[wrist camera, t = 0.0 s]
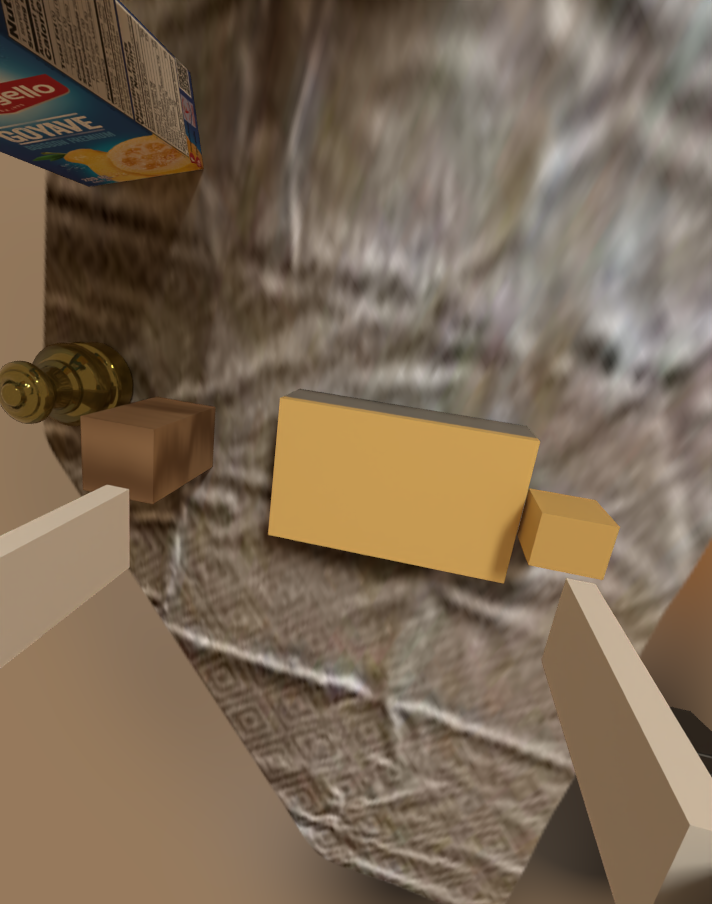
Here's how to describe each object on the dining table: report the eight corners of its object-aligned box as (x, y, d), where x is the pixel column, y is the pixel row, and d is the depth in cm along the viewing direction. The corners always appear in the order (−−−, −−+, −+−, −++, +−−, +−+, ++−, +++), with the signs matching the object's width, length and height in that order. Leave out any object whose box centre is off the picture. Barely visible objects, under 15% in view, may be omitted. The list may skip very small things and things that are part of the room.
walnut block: (156, 396, 45) (80, 416, 35) (215, 406, 44) (153, 429, 34) (156, 456, 46) (82, 489, 37) (212, 466, 46) (152, 504, 36)
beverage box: (205, 169, 38) (-74, -16, 18) (88, 186, 40) (-286, 40, 20) (191, 72, 37) (-136, -261, 16) (70, 96, 39) (-361, -172, 18)
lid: (284, 396, 38) (261, 406, 33) (610, 450, 34) (638, 470, 30) (271, 529, 41) (250, 556, 36) (568, 590, 38) (586, 628, 33)
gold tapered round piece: (55, 388, 46) (-44, 405, 37) (84, 325, 44) (-14, 325, 34) (116, 432, 46) (32, 460, 37) (147, 371, 44) (68, 384, 35)
